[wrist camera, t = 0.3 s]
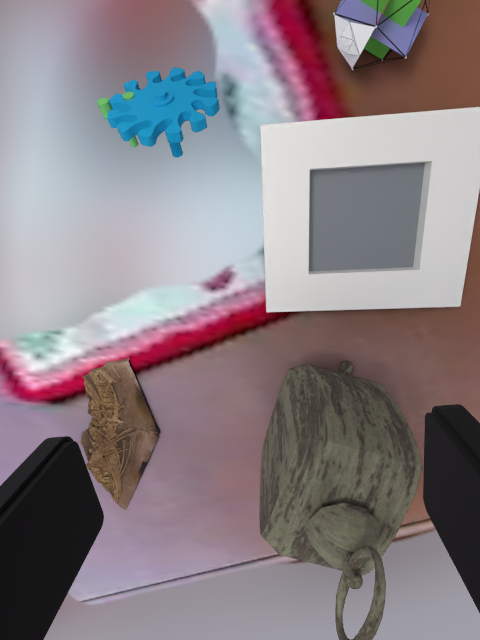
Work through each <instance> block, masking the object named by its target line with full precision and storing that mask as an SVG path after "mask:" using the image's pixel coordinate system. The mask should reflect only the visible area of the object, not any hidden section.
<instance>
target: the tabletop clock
mask: <svg viewBox="0 0 480 640" xmlns="http://www.w3.org/2000/svg"><path fill="white" fill-rule="evenodd" d="M339 370H340V371H341V373H338V372H335V371H331V370H327V369H323V368H319V367H315V366H311V365H307V364H306V365H303V366H299V367H296V368H292V369H289V370H288V372H287V374H286V377H285V379H284V382H283V385H282V388H281V391H280V394H279V396H278V399H277V402H276V405H275V408H274V411H273V415H272V418H271V421H270V424H269V427H268V430H267V434H266V437H265V441H264V445H263V450H262V460H261V477H260V532H261V536H262V537H263V538H264V539H265V540H266V541H267V542H268V543H269V544H270V545H271V546H272V548H273V549H274V550H275V551H276V552H277V553H278V554H279V555H282V556H286V557H290V558H294V559H298V560H302V561H306V562H310V563H314V564H318V565H322V566H326V567H330V568H334V569H337V570H342V571H343V573H342V576H341V579H340V582H339V586H338V590H337V595H336V629H337V634H338V637H339V640H350V639H348V638H347V636H346V635H345V632H344V628H343V622H342V621H343V620H342V613H343V608H344V603H345V599H346V595H347V592H348V589H349V586H350V587H351V588H352V589H359V588H360V587H361V586H362V582H363V580H362V575H365V574H367V573H369V572H370V571H371V570H372V569H373V568H374V567H375V588H374V596H373V600H372V604H371V608H370V611H369V613H368V616H367V618H366V620H365V622H364V624H363V626H362V628H361V629H360V631H359V633H358V634H357V635H356V636H355V638H354V639H352V640H372V639H373V637H374V636H375V634H376V632H377V630H378V627H379V625H380V622H381V620H382V615H383V610H384V604H385V589H386V581H385V574H384V567H383V563H382V559H381V557H382V556H383V554H384V553H385V551H386V550H387V548H388V547H389V545H390V544H391V542H392V541H393V539H394V538H395V536H396V533H397V531H398V529H399V527H400V525H401V523H402V521H403V519H404V517H405V515H406V513H407V511H408V509H409V506H410V504H411V502H412V500H413V498H414V495H415V492H416V489H417V486H418V483H419V478H420V474H421V469H422V463H421V459H420V455H419V451H418V447H417V444H416V442H415V439H414V437H413V434H412V432H411V429H410V427H409V426H408V424H407V422H406V420H405V418H404V416H403V415H402V413H401V411H400V409H399V407H398V405H397V404H396V402H395V401H394V400H393V399H392V397H391V396H390V395H389V394H388V392H387V391H386V390H385V389H384V388H383V387H382V386H381V385H380V384H379V383H377V382H373V381H369V380H366V379H362V378H358V377H354V376H350V375H347V374H350V373H351V372H352V371H353V365H352V364H351V363H350V362H348V361H343V362H342V363H341V364H340V365H339Z"/></svg>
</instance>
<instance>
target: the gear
mask: <svg viewBox="0 0 480 640" xmlns="http://www.w3.org/2000/svg"><path fill="white" fill-rule="evenodd" d="M146 77H147V80H148V84H147V86H146V87H145V88H144V89H142V90H140V88H139V85H138V82H137V81H136V80H132V81H129V82H127V83H125V84H124V88H125V90H126V93H125V94H124V95H123V96H122V95H121V94H115V95H114V96H113V97H112V98H111V99H110V100H109V99H108V98H101V99H99V100H98V102H97V103H98V105H99V108H100V110H101V112H102V114H103V116H104V118H105V119H108V121H109V123H110V125H111V127H112V128H117V129H118V131H119V133H120V135H121V138H122V139H123V140H124V141H130V144H131V146H132V147H136V146H137V145H138V142H137V140H136V137H135V135H138V137H139V140H140V142H141V144H142V145H145V146H150V147H151V146H153V145H154V144H155V143H156V139H157V137H158V136H159V134H161V133H162V132H163V131H164V130H165V133H166V136H167V139H168V142H169V144H170V147H171V150H172V154H173V156H174V157H180V156H182V153H183V152H182V149H181V145H180V142H182V140H183V135H182V131H181V125H182V123H183V122H185V121H188V120H190V123H191V127H192V130H193V131H194V132H198V131H201V130H203V129H205V128H207V124H206V118H205V115H203V114H201V113H198V112H196V111H195V110H198V109H202V110H204V111H205V113H206V114H207V115H208V116H214V115H215V114H216V113H217V112H218V111H219V103H218V99H217V89H216V83H215V82H209V83H206V82H205V76H204V74H203V73H202V72H200V71H197V72H194V73H193V74H192V75H191V76H189V77H187V78H186V77H185V72H184V70H183V69H181V68H173V69H172V70H171V71H170V74H169V76H168V77H167V78H166V79H165V80H163V81H162V80H161V76H160V72H159V71H152V72H148V73H147V74H146Z"/></svg>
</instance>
